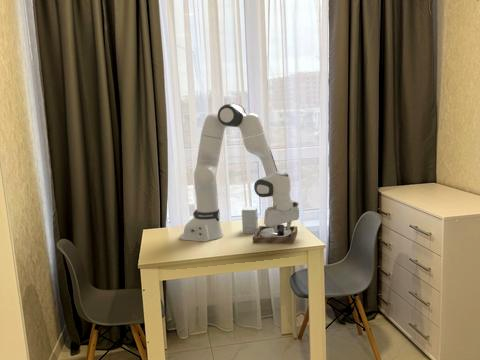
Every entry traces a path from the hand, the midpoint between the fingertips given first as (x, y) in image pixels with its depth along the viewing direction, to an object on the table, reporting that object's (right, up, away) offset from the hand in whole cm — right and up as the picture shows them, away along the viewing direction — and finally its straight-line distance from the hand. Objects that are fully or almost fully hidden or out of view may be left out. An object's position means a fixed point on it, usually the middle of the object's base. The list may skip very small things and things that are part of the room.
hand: (282, 231), depth 244 cm
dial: (-3, -2, +5) cm, 6 cm away
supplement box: (-15, -2, +18) cm, 24 cm away
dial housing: (-3, -4, +6) cm, 7 cm away
